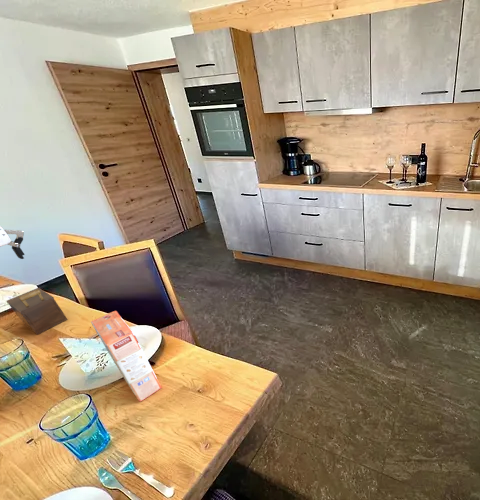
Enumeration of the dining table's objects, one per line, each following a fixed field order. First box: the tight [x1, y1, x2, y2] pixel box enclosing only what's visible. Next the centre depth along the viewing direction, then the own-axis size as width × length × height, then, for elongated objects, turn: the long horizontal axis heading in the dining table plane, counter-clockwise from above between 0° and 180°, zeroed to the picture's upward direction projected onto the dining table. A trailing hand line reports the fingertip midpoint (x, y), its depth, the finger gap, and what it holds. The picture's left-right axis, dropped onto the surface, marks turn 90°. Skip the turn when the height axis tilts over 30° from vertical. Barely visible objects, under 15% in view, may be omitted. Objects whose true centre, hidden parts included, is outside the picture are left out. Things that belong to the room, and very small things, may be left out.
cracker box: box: [90, 310, 162, 403], centre depth 77 cm, size 14×6×21 cm, turn 51°
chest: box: [7, 298, 68, 336], centre depth 104 cm, size 12×9×10 cm
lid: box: [6, 287, 55, 313], centre depth 100 cm, size 13×9×5 cm
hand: (0, 264), depth 92 cm, fingers open, 9 cm apart
